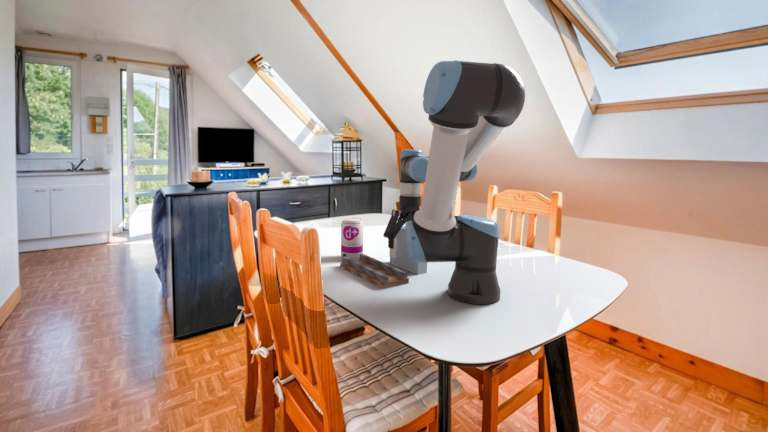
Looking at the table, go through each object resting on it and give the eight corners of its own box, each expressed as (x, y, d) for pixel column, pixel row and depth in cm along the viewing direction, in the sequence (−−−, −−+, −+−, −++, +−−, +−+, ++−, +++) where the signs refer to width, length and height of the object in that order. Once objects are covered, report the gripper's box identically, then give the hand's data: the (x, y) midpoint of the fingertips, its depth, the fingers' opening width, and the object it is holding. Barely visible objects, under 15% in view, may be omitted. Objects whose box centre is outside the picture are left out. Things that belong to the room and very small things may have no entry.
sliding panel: (426, 272, 139) (428, 233, 137) (417, 274, 137) (419, 234, 135) (398, 261, 152) (399, 224, 150) (389, 262, 150) (390, 225, 147)
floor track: (408, 283, 128) (409, 272, 128) (382, 288, 123) (383, 277, 122) (364, 262, 149) (364, 253, 149) (340, 266, 144) (340, 257, 143)
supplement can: (359, 262, 150) (360, 222, 147) (338, 260, 151) (338, 220, 148) (365, 256, 157) (365, 218, 155) (344, 254, 159) (344, 216, 156)
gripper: (430, 191, 150) (427, 247, 154) (374, 195, 136) (372, 256, 140) (444, 194, 144) (441, 252, 148) (387, 198, 130) (385, 262, 134)
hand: (408, 254), depth 144 cm, fingers open, 13 cm apart
